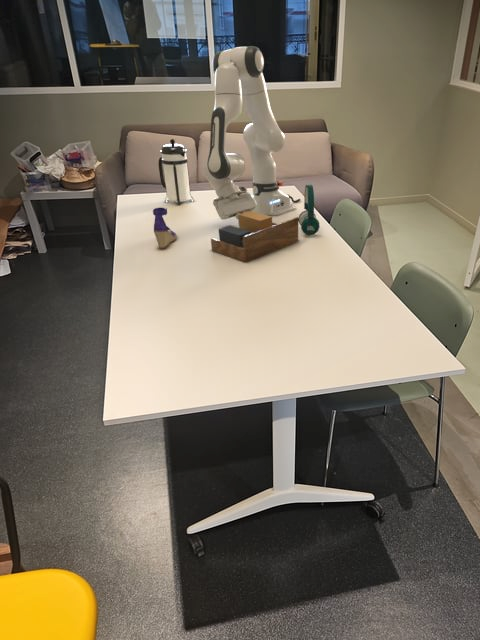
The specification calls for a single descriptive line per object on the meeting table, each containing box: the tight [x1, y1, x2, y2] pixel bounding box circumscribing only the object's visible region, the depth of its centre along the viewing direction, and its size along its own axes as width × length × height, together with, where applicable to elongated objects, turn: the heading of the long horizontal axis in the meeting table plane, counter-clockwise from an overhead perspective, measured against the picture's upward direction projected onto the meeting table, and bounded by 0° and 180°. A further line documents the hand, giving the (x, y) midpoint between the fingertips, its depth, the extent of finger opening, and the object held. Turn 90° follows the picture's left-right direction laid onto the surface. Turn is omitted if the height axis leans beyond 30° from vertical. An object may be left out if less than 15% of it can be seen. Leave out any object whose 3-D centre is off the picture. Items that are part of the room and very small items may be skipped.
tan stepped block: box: [237, 211, 273, 233], centre depth 213 cm, size 20×8×10 cm, turn 49°
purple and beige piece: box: [152, 207, 177, 250], centre depth 210 cm, size 8×20×15 cm, turn 174°
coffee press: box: [158, 138, 195, 206], centre depth 257 cm, size 17×16×30 cm
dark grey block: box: [218, 224, 251, 248], centre depth 204 cm, size 20×7×8 cm, turn 50°
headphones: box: [298, 184, 320, 236], centre depth 220 cm, size 8×15×20 cm, turn 5°
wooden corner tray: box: [210, 216, 299, 263], centre depth 208 cm, size 20×32×10 cm, turn 140°
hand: (245, 222), depth 219 cm, fingers closed, pressing on tan stepped block
